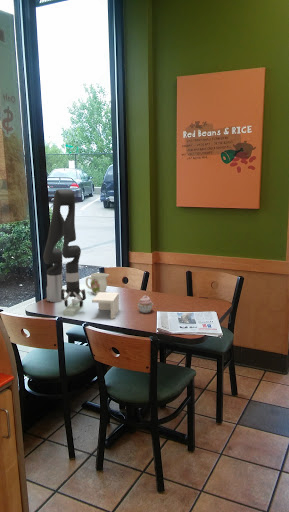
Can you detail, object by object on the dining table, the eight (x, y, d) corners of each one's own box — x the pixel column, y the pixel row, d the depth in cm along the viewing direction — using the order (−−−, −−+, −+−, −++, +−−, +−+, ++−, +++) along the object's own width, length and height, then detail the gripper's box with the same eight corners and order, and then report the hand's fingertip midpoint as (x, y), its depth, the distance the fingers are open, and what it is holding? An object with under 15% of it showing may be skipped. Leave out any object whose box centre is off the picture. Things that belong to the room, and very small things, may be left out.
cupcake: (142, 315, 236) (142, 298, 235) (134, 310, 244) (134, 294, 243) (156, 312, 241) (156, 296, 239) (148, 308, 249) (148, 292, 247)
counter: (92, 317, 232) (92, 299, 230) (99, 309, 247) (98, 292, 245) (113, 318, 230) (113, 300, 228) (118, 309, 246) (118, 292, 244)
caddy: (74, 316, 235) (73, 305, 234) (63, 316, 236) (63, 305, 235) (83, 306, 252) (83, 296, 251) (73, 306, 253) (73, 296, 252)
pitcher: (90, 290, 289) (89, 270, 286) (113, 292, 282) (112, 273, 279) (81, 294, 279) (81, 274, 276) (105, 297, 272) (105, 276, 269)
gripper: (58, 281, 236) (60, 308, 239) (82, 281, 234) (83, 309, 237) (62, 278, 243) (64, 304, 246) (86, 278, 242) (87, 305, 245)
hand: (73, 306), depth 242 cm, fingers open, 8 cm apart
